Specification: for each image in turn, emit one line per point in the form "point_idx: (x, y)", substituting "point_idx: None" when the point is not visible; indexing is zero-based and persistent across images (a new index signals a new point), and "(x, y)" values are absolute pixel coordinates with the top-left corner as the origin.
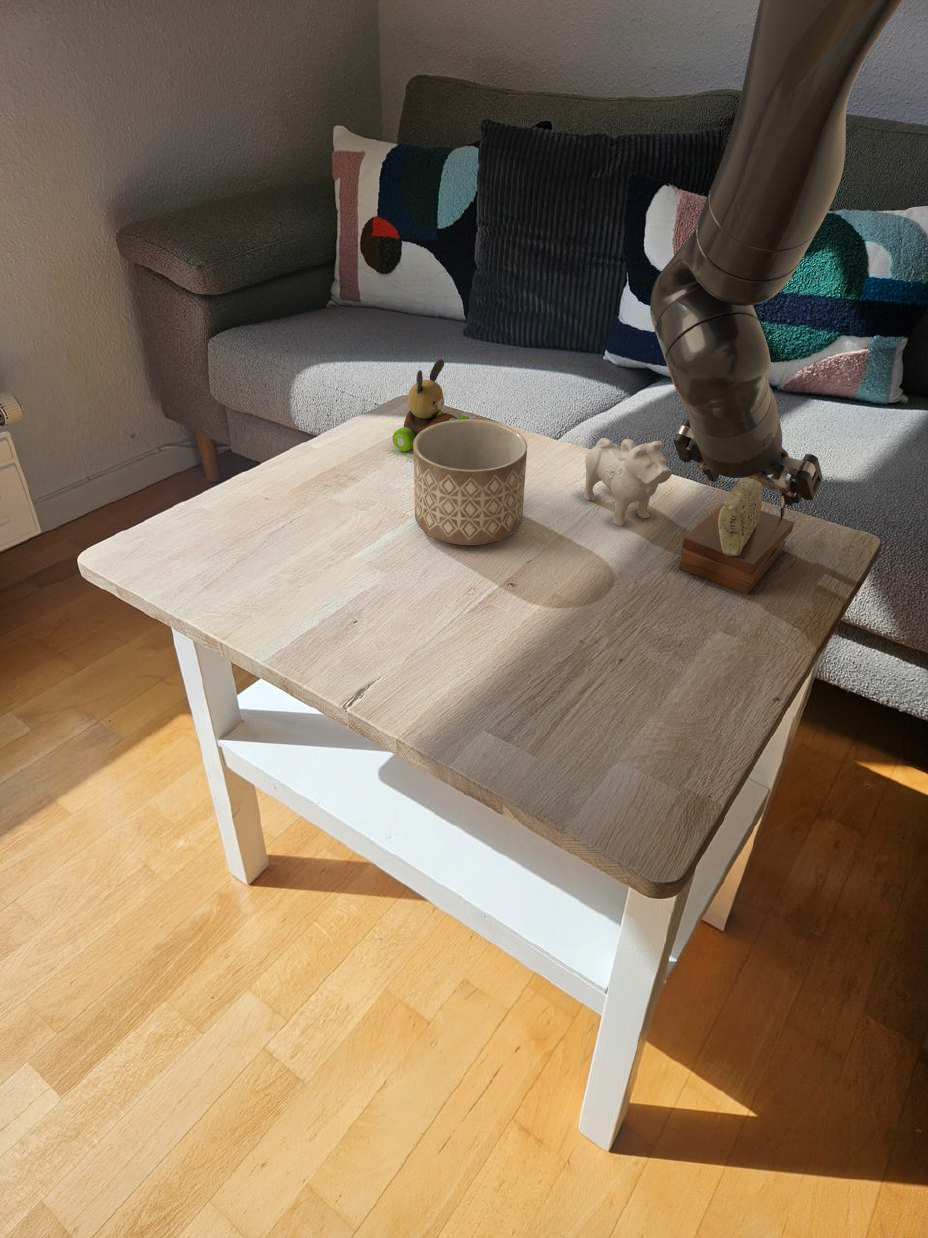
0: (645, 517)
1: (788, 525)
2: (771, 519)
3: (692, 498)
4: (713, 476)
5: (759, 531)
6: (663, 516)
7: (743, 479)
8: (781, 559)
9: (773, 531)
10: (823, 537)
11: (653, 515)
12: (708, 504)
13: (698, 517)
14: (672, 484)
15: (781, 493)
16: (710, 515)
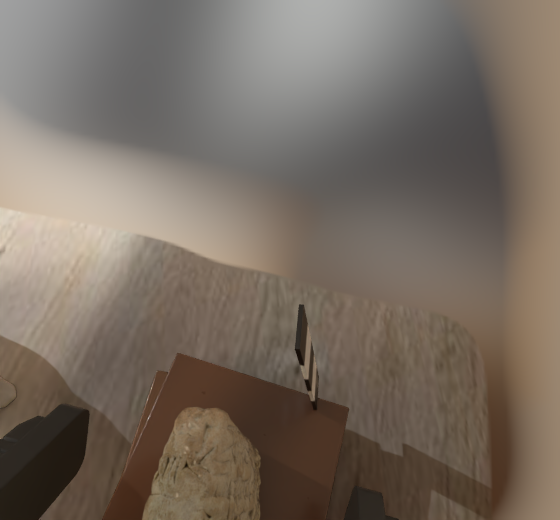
0: (4, 406)
1: (337, 432)
2: (292, 419)
3: (122, 283)
4: (45, 506)
5: (269, 504)
6: (53, 380)
7: (166, 490)
8: None
9: (305, 487)
10: (393, 335)
11: (28, 385)
12: (156, 294)
13: (135, 354)
14: (81, 245)
15: (307, 387)
16: (128, 467)
